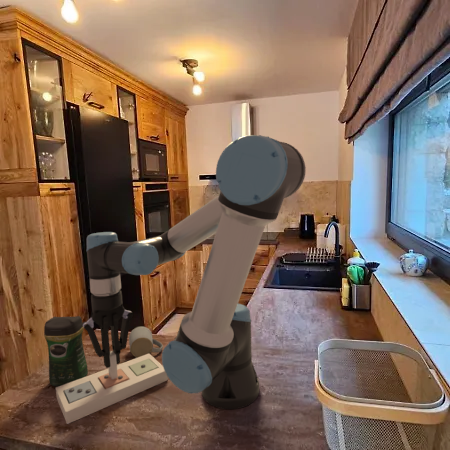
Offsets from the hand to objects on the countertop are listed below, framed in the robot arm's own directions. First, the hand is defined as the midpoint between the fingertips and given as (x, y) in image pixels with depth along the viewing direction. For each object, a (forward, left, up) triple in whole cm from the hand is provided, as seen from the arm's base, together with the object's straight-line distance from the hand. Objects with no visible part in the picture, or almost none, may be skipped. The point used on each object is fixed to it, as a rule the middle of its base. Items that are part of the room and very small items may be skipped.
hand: (113, 376), depth 86 cm
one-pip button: (0, -9, -4) cm, 9 cm away
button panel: (0, 0, -4) cm, 4 cm away
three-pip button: (0, +8, -4) cm, 9 cm away
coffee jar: (+13, +8, -4) cm, 16 cm away
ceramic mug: (+13, -15, -4) cm, 20 cm away
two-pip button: (0, 0, -3) cm, 3 cm away
